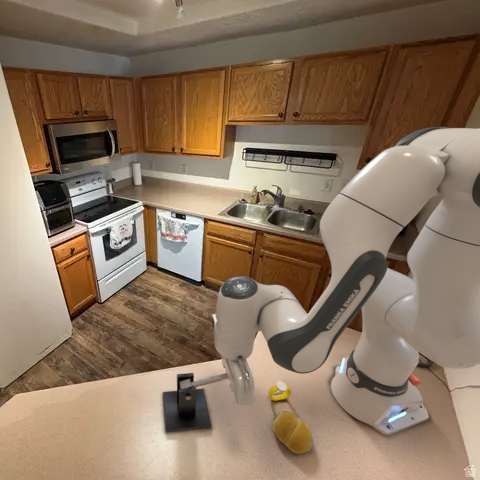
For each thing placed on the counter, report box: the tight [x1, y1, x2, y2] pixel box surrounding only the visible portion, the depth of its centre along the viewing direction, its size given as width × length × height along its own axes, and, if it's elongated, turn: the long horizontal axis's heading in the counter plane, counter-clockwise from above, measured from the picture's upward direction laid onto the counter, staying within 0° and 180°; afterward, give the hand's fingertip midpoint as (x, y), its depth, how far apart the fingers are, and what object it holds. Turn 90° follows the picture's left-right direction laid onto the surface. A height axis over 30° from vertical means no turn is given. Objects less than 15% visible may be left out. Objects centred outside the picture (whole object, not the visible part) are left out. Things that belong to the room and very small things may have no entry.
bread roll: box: [271, 411, 314, 454], centre depth 65 cm, size 8×9×4 cm
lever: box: [180, 372, 229, 389], centre depth 67 cm, size 14×5×2 cm, turn 93°
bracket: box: [162, 372, 212, 433], centre depth 69 cm, size 12×10×13 cm
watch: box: [268, 380, 292, 402], centre depth 73 cm, size 6×3×6 cm, turn 97°
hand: (229, 376), depth 66 cm, fingers closed on lever, 5 cm apart
